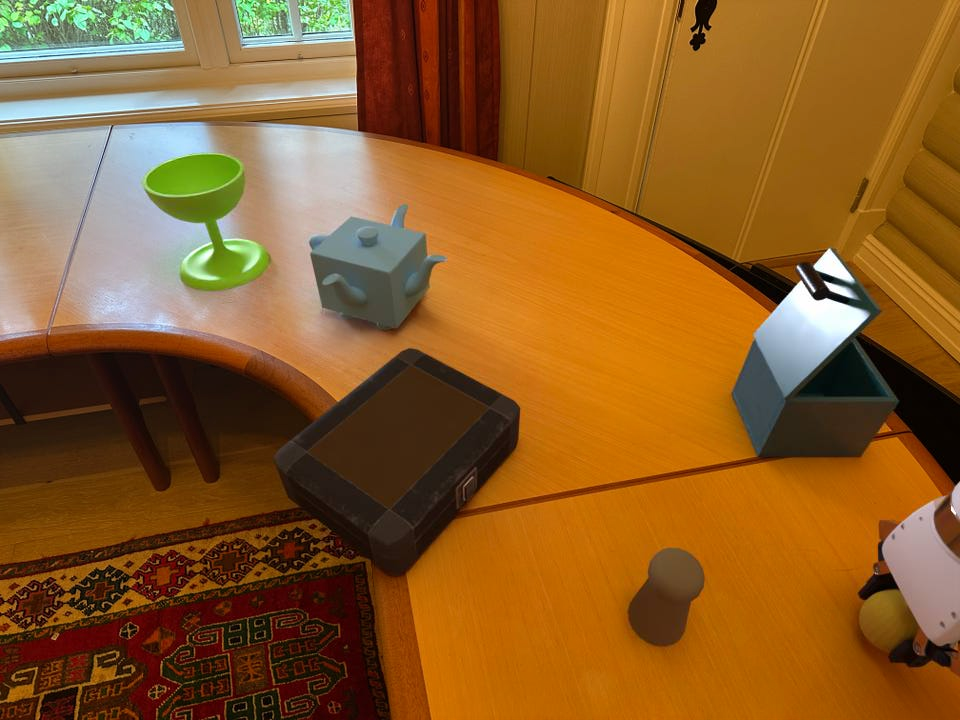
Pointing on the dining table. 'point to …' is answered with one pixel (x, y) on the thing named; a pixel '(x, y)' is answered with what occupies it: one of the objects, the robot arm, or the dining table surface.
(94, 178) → the dining table surface
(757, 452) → the teal box
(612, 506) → the dining table surface
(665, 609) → the cork
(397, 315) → the teakettle
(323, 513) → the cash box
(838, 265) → the box lid
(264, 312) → the dining table surface
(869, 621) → the lemon
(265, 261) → the wineglass
